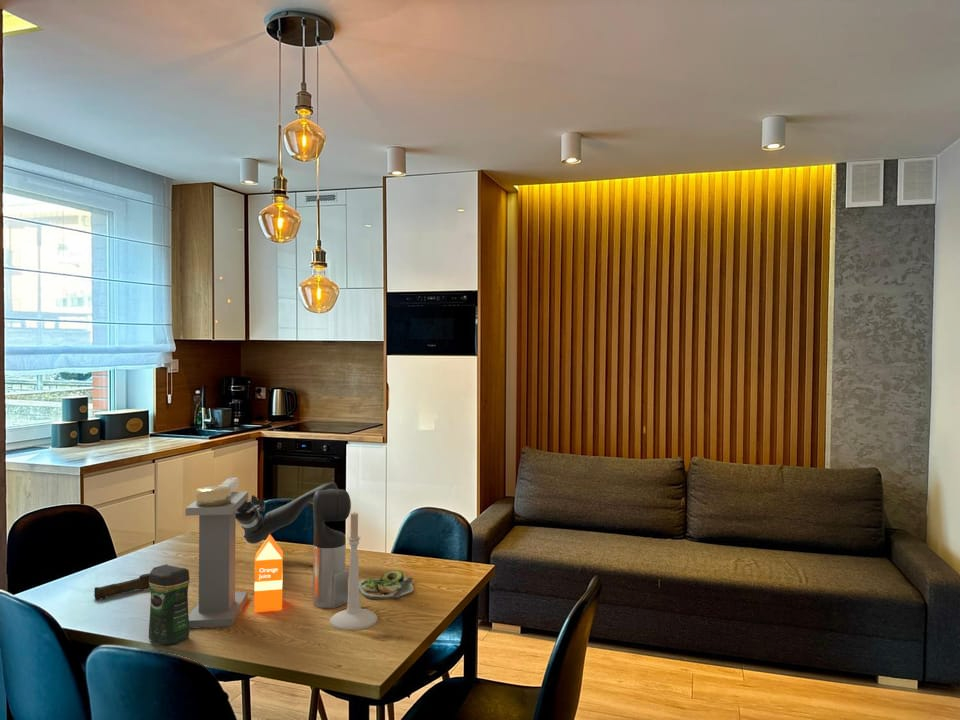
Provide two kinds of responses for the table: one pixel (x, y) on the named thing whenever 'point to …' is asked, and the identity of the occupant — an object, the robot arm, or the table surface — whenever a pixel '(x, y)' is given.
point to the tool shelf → (217, 565)
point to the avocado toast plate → (387, 585)
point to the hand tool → (122, 587)
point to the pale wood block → (216, 494)
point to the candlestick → (353, 591)
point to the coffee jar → (169, 604)
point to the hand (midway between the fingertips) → (238, 498)
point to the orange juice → (268, 577)
